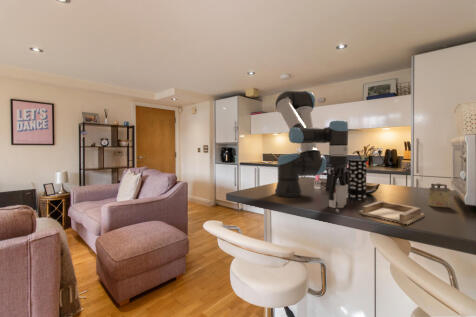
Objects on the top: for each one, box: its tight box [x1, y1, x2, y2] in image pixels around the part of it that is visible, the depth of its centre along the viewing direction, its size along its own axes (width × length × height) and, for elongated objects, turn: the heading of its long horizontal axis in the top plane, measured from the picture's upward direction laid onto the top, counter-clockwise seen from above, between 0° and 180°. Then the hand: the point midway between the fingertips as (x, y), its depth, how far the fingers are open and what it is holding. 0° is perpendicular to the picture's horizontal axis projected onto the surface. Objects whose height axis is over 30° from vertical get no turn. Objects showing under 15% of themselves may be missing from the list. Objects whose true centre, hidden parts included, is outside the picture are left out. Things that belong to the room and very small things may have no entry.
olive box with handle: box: [428, 182, 451, 208], centre depth 93 cm, size 7×4×10 cm, turn 66°
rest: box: [358, 200, 425, 226], centre depth 83 cm, size 16×16×3 cm
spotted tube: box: [347, 159, 368, 201], centre depth 110 cm, size 8×8×20 cm
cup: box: [334, 182, 348, 209], centre depth 96 cm, size 8×8×10 cm
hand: (337, 205), depth 96 cm, fingers closed on cup, 8 cm apart
